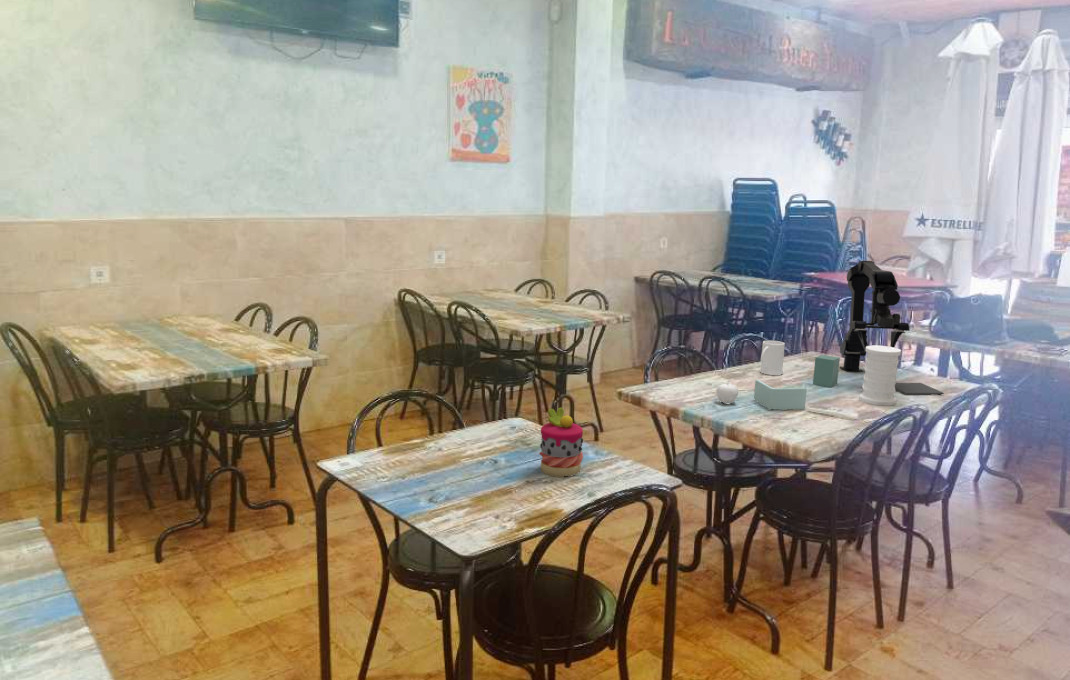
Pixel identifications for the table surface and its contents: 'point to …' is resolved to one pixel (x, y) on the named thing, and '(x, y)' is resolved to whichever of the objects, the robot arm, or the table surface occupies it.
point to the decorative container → (880, 375)
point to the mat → (915, 389)
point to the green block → (826, 370)
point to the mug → (772, 357)
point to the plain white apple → (727, 392)
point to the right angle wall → (780, 396)
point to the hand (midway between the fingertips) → (878, 350)
